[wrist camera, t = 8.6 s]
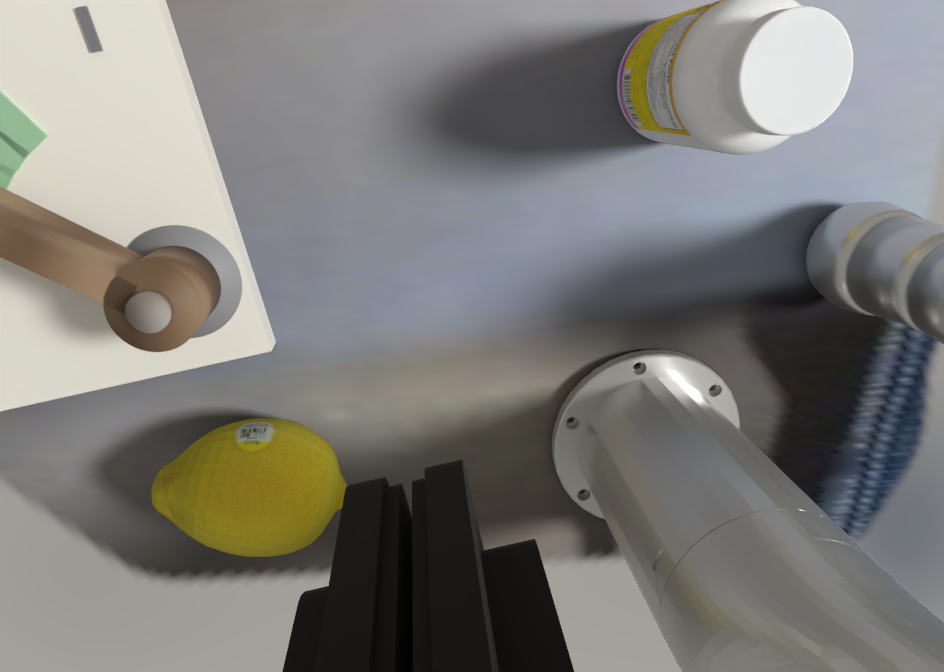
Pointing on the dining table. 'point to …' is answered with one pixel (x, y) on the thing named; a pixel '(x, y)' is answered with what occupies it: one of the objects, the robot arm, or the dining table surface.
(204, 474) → the lemon
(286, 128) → the dining table surface
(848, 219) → the plastic bottle
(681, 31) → the supplement bottle
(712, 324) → the dining table surface
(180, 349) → the dial plate
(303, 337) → the dining table surface
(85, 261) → the walnut dial lever
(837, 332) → the dining table surface
